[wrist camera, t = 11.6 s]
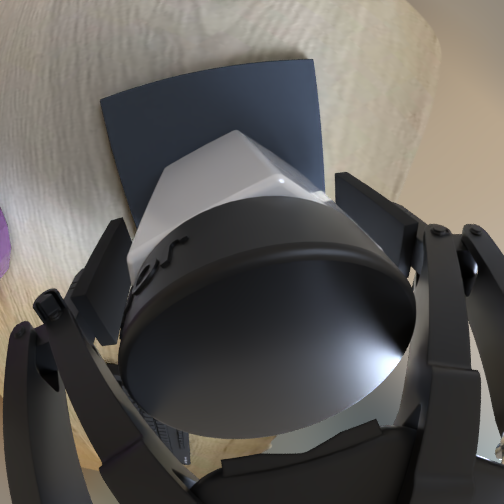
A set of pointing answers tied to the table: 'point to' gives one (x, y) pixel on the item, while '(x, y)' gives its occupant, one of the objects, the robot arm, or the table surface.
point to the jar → (255, 299)
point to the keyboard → (160, 427)
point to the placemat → (214, 120)
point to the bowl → (4, 245)
